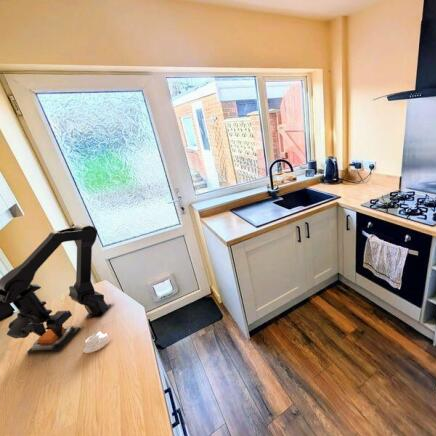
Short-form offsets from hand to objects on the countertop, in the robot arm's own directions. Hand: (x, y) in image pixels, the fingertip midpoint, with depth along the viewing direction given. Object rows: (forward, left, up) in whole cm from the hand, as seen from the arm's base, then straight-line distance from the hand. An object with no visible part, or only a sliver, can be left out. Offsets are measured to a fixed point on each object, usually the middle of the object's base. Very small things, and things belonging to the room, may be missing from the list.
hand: (52, 336), depth 93 cm
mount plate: (0, 0, -2) cm, 2 cm away
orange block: (0, 0, -1) cm, 1 cm away
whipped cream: (-19, +3, -3) cm, 19 cm away
